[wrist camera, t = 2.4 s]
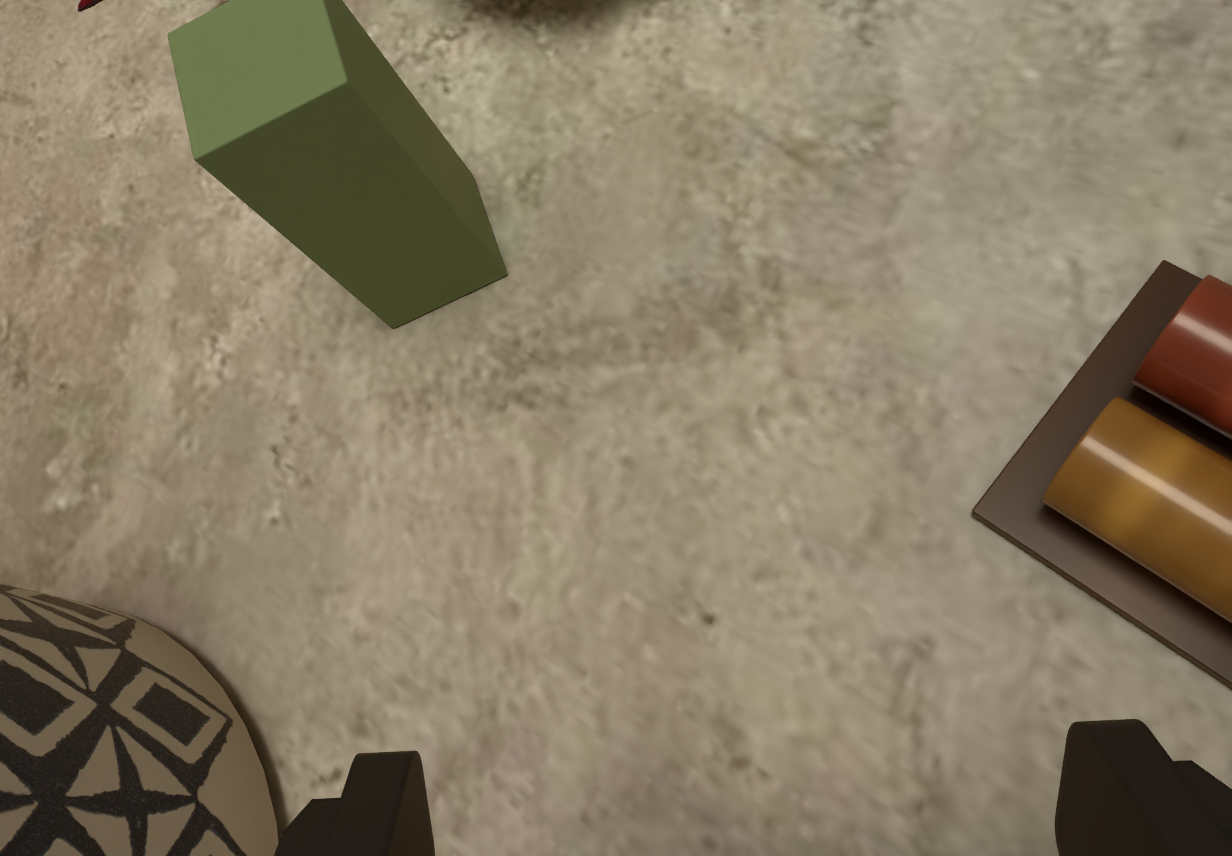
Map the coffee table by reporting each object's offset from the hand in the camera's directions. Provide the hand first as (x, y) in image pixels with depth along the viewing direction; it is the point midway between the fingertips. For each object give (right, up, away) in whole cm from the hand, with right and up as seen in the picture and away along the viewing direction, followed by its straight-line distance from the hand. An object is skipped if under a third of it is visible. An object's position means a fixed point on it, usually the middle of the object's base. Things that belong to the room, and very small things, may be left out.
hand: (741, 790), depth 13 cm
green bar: (-9, +11, +28) cm, 31 cm away
